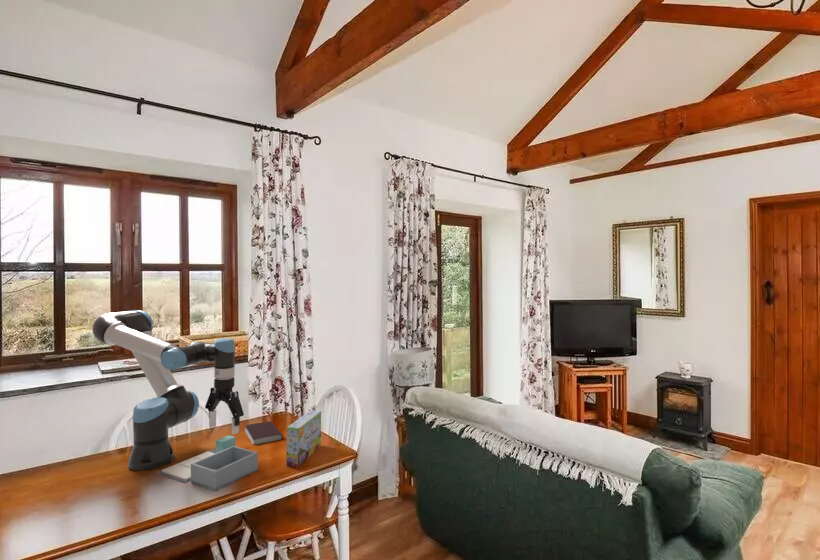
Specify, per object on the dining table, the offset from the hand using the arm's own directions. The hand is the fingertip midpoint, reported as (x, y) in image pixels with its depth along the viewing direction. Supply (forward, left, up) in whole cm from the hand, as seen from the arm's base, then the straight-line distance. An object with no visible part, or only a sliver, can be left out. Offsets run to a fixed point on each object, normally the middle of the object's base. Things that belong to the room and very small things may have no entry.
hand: (223, 430), depth 176 cm
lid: (+1, -9, -9) cm, 13 cm away
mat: (+1, -10, -10) cm, 14 cm away
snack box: (+30, +15, -10) cm, 34 cm away
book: (-2, +22, -11) cm, 25 cm away
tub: (+17, -12, -10) cm, 23 cm away
